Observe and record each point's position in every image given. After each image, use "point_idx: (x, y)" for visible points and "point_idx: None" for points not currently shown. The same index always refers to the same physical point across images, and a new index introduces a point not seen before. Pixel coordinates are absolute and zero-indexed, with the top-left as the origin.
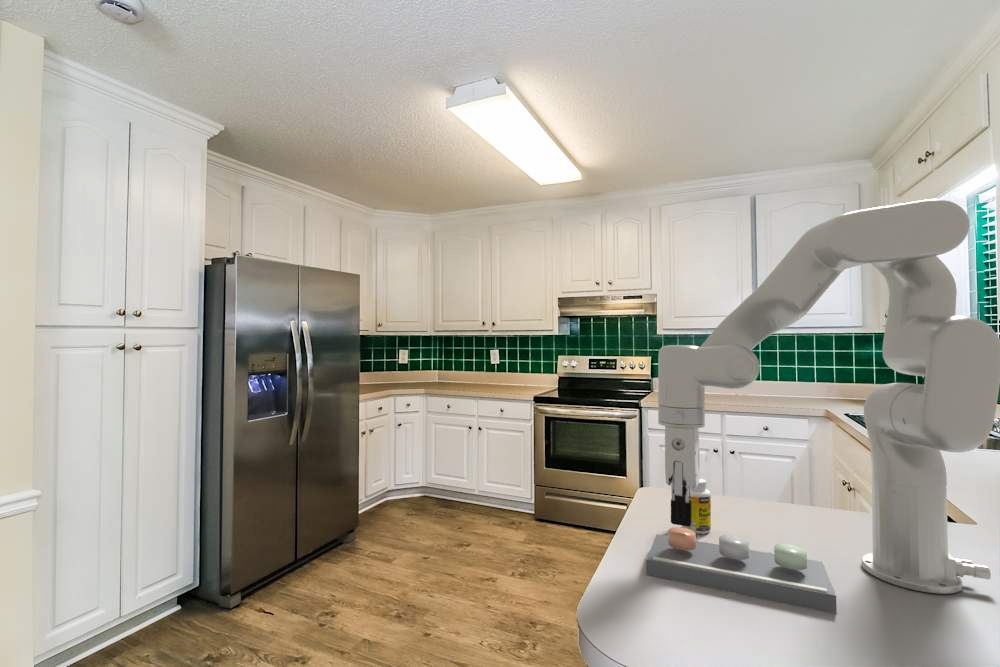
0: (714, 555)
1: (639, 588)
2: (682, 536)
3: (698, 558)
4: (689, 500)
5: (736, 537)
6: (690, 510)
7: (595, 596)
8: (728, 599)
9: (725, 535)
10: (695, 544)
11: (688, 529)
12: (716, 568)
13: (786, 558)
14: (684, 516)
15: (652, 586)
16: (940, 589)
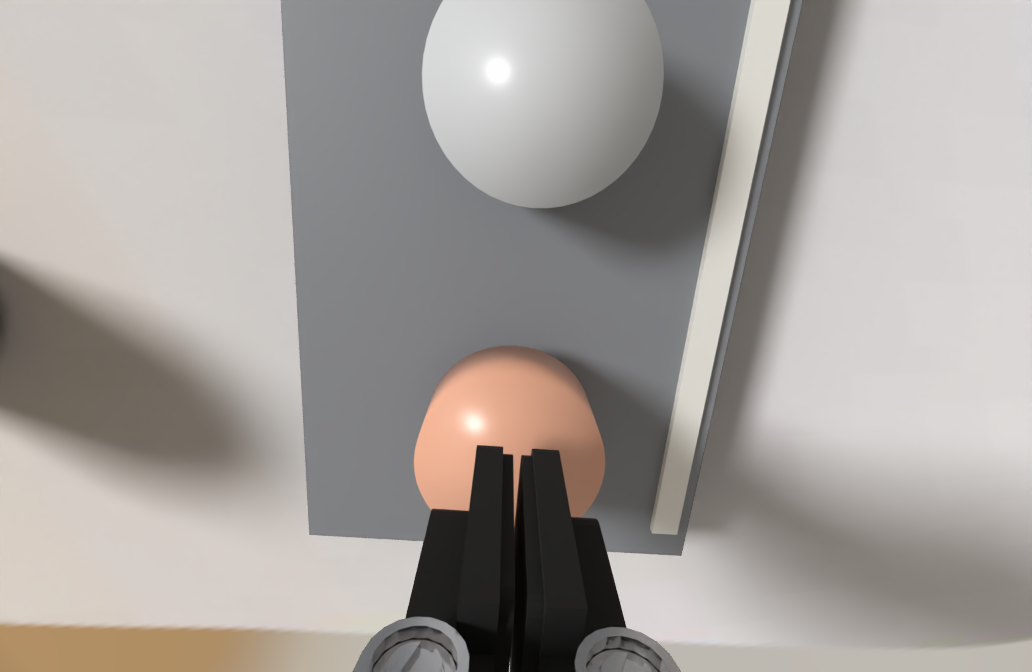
0: (495, 226)
1: (787, 519)
2: (597, 461)
3: (578, 319)
4: (476, 623)
5: (461, 50)
6: (571, 539)
7: (882, 638)
8: (805, 168)
9: (447, 149)
10: (531, 355)
11: (434, 426)
12: (715, 226)
13: None
14: (603, 548)
15: (757, 478)
16: None
